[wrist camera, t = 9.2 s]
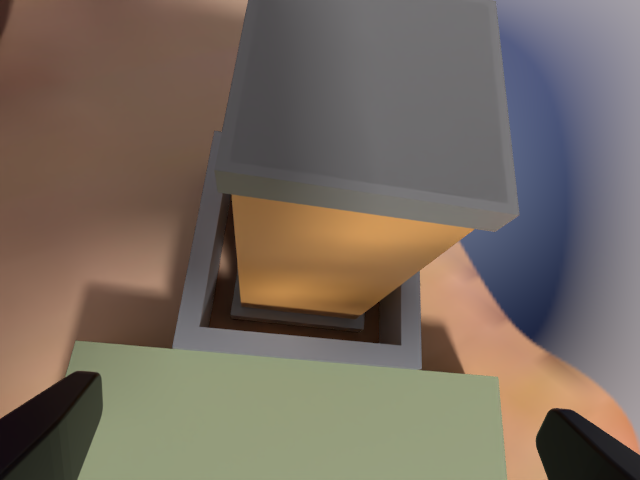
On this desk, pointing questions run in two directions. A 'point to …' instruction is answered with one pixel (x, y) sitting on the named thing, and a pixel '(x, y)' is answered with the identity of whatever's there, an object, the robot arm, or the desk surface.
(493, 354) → the desk surface
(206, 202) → the green slab with frame
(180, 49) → the desk surface
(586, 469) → the robot arm
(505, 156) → the tan rectangular column
